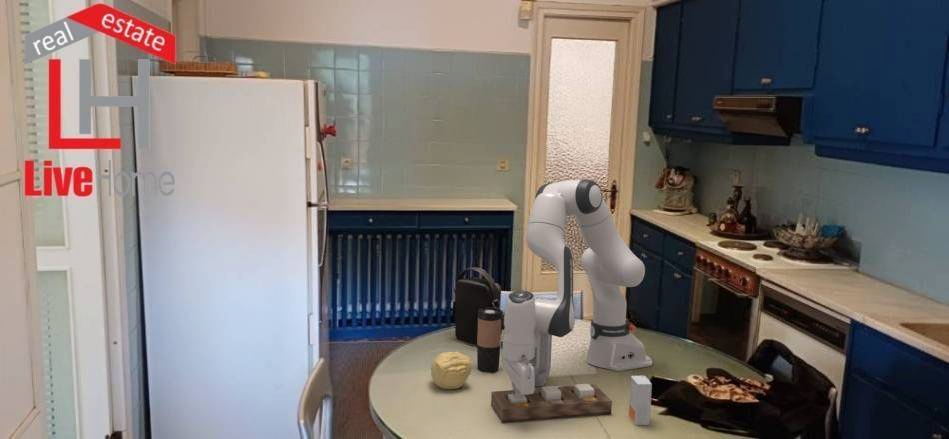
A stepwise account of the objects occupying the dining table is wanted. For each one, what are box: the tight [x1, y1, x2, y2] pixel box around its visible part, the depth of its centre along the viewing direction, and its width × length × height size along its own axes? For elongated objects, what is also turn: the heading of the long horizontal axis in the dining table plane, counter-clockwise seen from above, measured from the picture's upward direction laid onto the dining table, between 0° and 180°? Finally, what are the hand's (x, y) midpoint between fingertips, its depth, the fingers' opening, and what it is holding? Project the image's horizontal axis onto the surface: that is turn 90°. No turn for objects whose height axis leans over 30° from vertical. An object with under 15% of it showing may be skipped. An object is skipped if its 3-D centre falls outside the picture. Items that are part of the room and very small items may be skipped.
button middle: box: [540, 385, 561, 401], centre depth 194 cm, size 4×4×3 cm
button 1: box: [508, 394, 527, 404], centre depth 192 cm, size 4×4×3 cm
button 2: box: [573, 383, 594, 399], centre depth 196 cm, size 4×4×3 cm
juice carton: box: [530, 296, 553, 388], centre depth 213 cm, size 9×10×27 cm
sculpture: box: [430, 350, 472, 390], centre depth 209 cm, size 12×12×11 cm
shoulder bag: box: [444, 266, 505, 349], centre depth 248 cm, size 23×9×28 cm, turn 51°
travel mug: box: [476, 307, 502, 374], centre depth 222 cm, size 8×8×20 cm
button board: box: [490, 383, 613, 424], centre depth 194 cm, size 32×12×4 cm, turn 103°
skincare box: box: [628, 375, 653, 426], centre depth 188 cm, size 6×4×12 cm
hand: (516, 396), depth 192 cm, fingers closed, pressing on button 1
